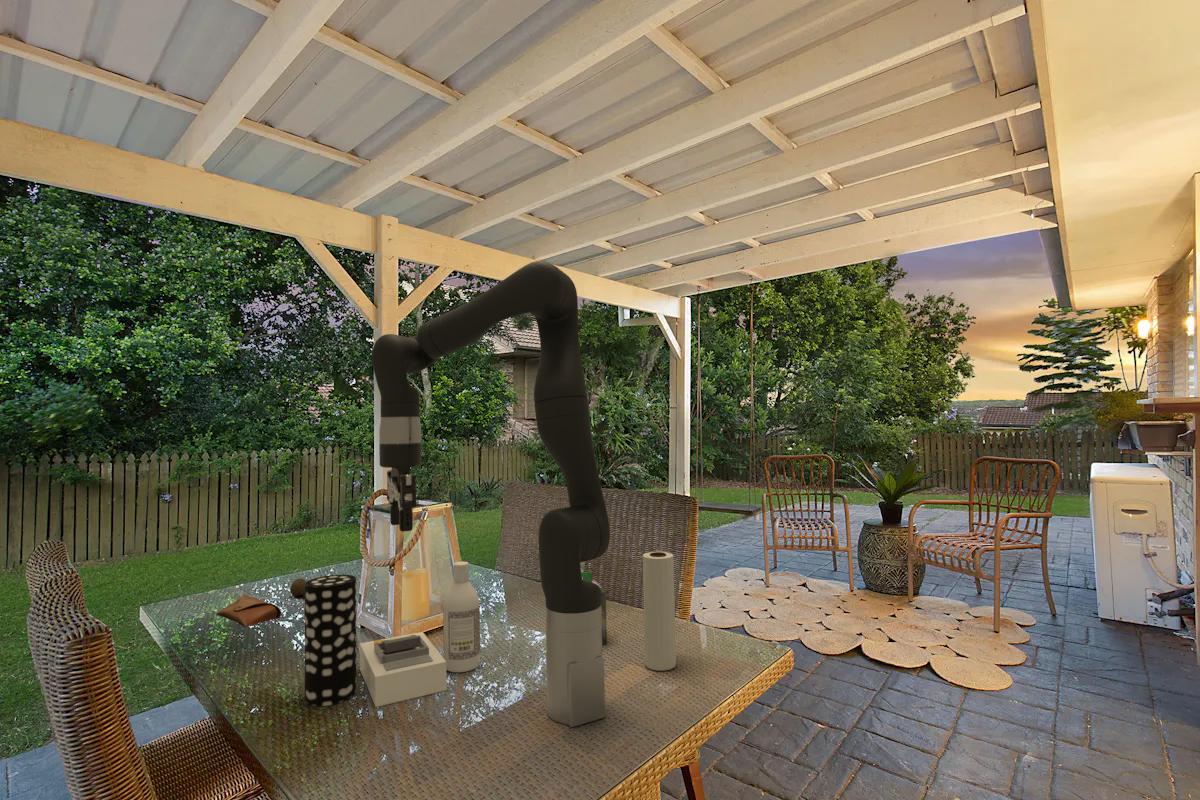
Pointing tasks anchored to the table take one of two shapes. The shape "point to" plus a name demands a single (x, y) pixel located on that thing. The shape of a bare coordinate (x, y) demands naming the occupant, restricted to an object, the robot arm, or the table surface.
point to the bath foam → (461, 623)
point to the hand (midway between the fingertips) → (401, 527)
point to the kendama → (298, 588)
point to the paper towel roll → (659, 610)
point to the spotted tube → (330, 639)
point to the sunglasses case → (250, 611)
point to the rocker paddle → (401, 643)
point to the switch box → (402, 671)
